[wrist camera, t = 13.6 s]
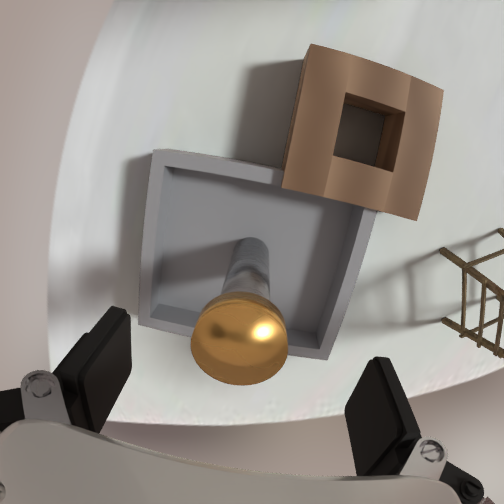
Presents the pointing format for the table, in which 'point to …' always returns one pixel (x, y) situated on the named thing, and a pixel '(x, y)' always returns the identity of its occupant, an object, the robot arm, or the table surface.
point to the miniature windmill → (502, 297)
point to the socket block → (391, 143)
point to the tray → (237, 228)
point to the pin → (242, 322)
